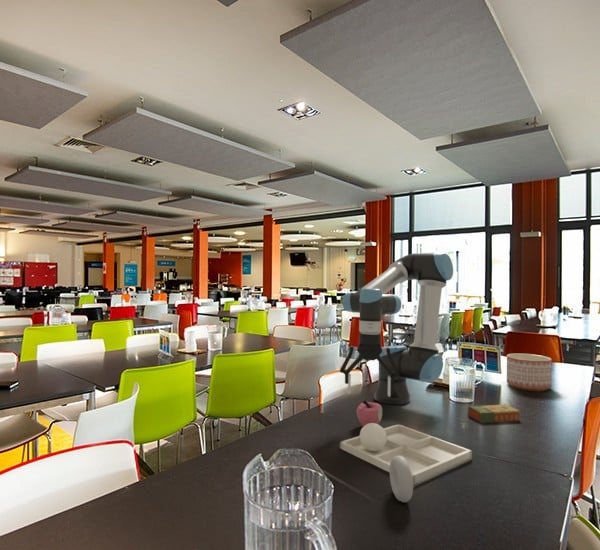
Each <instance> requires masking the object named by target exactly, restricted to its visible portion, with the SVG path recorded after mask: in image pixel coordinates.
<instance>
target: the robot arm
mask: <svg viewBox="0 0 600 550" xmlns="http://www.w3.org/2000/svg"><path fill="white" fill-rule="evenodd" d="M453 275H454V266H453V262H452V259H451V257H450V255H449V254H447V253H446V252H437V251H435V252H420V253H419V252H418V253H417V252H415V253H410V254H407V255H404V256H402V257H400V258H399V259H397V260H394V261H393V262H391V263H390V265H389V266H388V268H387V270H385V271H384V272H382V273H381V274H380V275H378V276H377V277H375V278H374V279H373V280H371V281H370V282H368V283H367V284H366V285H364V286H363V287H361V288H360V289H358V290H357V291H356V292H346V293H345V294H344V295H343V297H342V300H341V305H342V308H343V309H344V310H345V311H346V312H350V313H359V322H358V323H359V325H358V331H359V335H358V346H354V345H350V346H349V351H348V354H347V356H346V357H345V358H344V359H345V360H344V361H343V363H342V366H341V367H340V368H339V370H340V371H339V372H340V373H342V374H344V383H345V385H347V394H348V395H351V383H352V381H351V380H352V379H351V376H352V374H351V372H352V371H353V369H355V367H356V366H357V365H358V364H359V363H360V362H361V361H362V360H364V361H369V360H370V361H376V360H377V362H378V381H377V382H378V383H377V385H376V388H375V391H374V400H375V401H376V402H379V403H382V404H385V405H386V404H387V405H406V404H409V403H410V402H411V394H410V392H409V388H408V384H407V379H408V380H413V381H418V382H422V383H434V382H436V381H437V380H438V379H439V378H440V376H441V375H442V372H443V369H444V368H443V367H444V361H443V360H444V359H443V357H442V354H441V355H440V354H439V353H440V352H439V349H438V347H437V345H436V342H437V333H438V327H439V326H438V324H439V317H440V316H439V315H440V307H441V300H442V299H441V298H442V292H443V291H442V289H443V288H445V287H446V286H447V281H450V280H452V278H453ZM410 280H412V281H413V280H415V281H416V280H417V284H418V285H419V286H420V288H419V295H418V296H419V299H418V307H417V314H416V321H415V323H416V324H415V332H414V337H413V338H414V339H413V342H412V343H411V344H410V345H409V349H408V348H407V345H402V344H401V345H389V346H388V345H387V346H382V345H381V344H382V335H381V334H380V333H382V316H388V315H389V316H392V315H395V314H397V313H399V312H400V310H401V308H402V301H401V299H400V297H399V296H398V295H397V294H394V293H393V294H392V293H388V292H390V291H391V290H392V289H394V288H395V287H396V286H397V285H398V284H402V283H405V282H406V281H410ZM356 352H358V354H359V355H358V356H357V357H356V358H355V360H354V361H353V362H352V363H351V364H350V365H349V367H347V366H348V364H349V362H350V360H351V358H352V356H353V354H355V353H356ZM346 367H347V369H346Z"/></svg>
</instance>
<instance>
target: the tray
mask: <svg viewBox="0 0 600 550" xmlns="http://www.w3.org/2000/svg"><path fill="white" fill-rule="evenodd" d="M383 429H384V430H385V432H386V435H387V441H386V444H385V446H384V447H383V448H382V449H381V450H379V451H375V452H373V451H369V450H367V449H366V448H364V446H363V445H362V443H361V441H360V435H358V436H355V437H352V438H351V437H350V438H348V439H344V440H341V441H340V442H339V449H340V450H341V451H345V452H347V453H349V454H351V455H353V456H355V457H356V458H359V459H361V460H362V461H365V462H367V463H370V464H371V465H373V466H375V467H377V468H379V469H380V470H383V471H385V472H388V473H389V474H390V463H391V460H392V459H393V457H395V456H398V455H399V456H402V457H404V458H405V459H406V460H407V462H408V464H409V466H410V469H411V472H412V478H413V485H414V484H416V483H418V484H420V483H422V482H421V481H423V482H425V481H427V480H429V479H432V478H433V476H434V477H436V476H438V475H440V474H442V473H445V472H446V471H449V470H452V469H453V468H455V467H458V466H460V465H462V464H464V463H467V462H469V461H471V460H473V451H472V450H471V449H469V448H466V447H463V446H461V445H458V444H455V443H452V442H449V441H447V440H443V439H441V438H438V437H435V436H432V435H430V434H428V433H424V432H421V431H419V430H416V429H414V428H410V427H407V426H405V425H402V424H399V423H397V424H395V425H394V424H393V425H391V426H387V427H384V428H383ZM428 478H429V479H428ZM426 479H427V480H426ZM424 480H425V481H424ZM419 482H420V483H419ZM416 485H417V484H416ZM414 486H415V485H414Z"/></svg>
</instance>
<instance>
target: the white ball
mask: <svg viewBox="0 0 600 550" xmlns="http://www.w3.org/2000/svg"><path fill="white" fill-rule="evenodd" d="M359 436H360V441H361V443H362V445H363V446H364V448H366V449H367V450H369V451H373V452H375V451H379V450H381V449H382V448H383V447H384V446H385V444H386V441H387V435H386V432H385V430H384V428H383V426H382V425H380V424H376V423H369V424H366V425H365V426H364V427H363V426H362V427H361V429H360V431H359Z"/></svg>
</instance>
